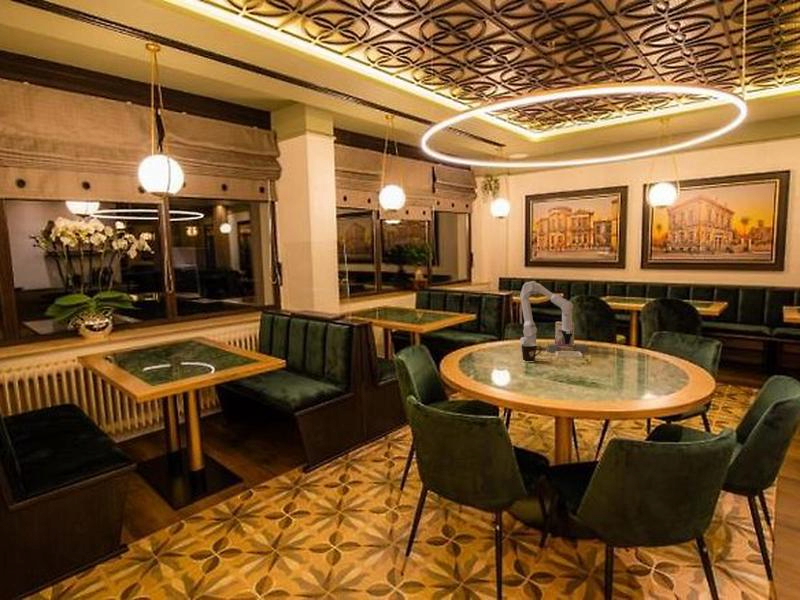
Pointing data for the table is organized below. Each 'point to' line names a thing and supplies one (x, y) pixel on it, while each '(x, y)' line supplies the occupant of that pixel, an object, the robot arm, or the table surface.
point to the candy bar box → (559, 334)
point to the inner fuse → (553, 348)
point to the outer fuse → (580, 348)
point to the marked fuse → (564, 341)
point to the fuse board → (572, 350)
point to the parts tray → (569, 355)
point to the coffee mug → (529, 351)
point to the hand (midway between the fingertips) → (566, 343)
